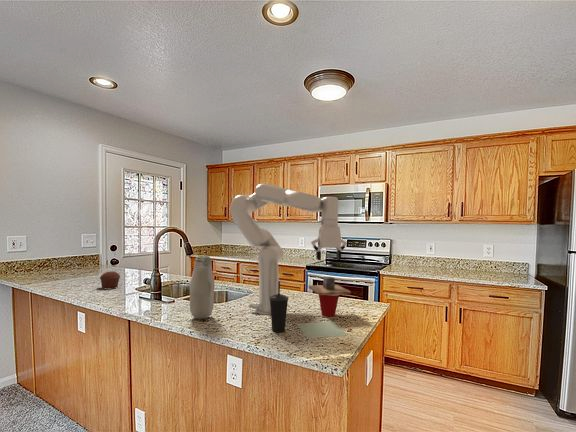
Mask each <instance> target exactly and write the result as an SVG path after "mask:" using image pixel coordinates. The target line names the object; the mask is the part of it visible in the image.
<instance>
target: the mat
mask: <svg viewBox="0 0 576 432" xmlns="http://www.w3.org/2000/svg"><path fill="white" fill-rule="evenodd" d="M296 325H297V326H298V328H299V329H300V330H301V332H302V333H303V334H304V335H305V336H306V338H307V339H317V338H330V337H340V336H341V337H342V336H343V337H344V336H349V334H348V333H347V332H345V331H344V329H342V328H341V327H340V326H339V325H337V324H336V323H335V322H333V321H331V320H330V321H319V322H318V321H317V322H307V323H306V322H305V323H296Z"/></svg>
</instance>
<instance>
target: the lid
mask: <svg viewBox="0 0 576 432" xmlns="http://www.w3.org/2000/svg"><path fill="white" fill-rule="evenodd" d="M335 279H336V278H335V277H334V276H333V277H332V276H323V280H322V281H323V283H322V284H316V285H308V288H309V289H310V290H311V291H312V292H314V293H315V294H317V295H318V296H319V295H334V294H340V295H351V294H352V291H350V290H349V289H348V288H345V287H342V286H341V285H339V284H336V280H335Z"/></svg>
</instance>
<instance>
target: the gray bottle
mask: <svg viewBox="0 0 576 432" xmlns="http://www.w3.org/2000/svg"><path fill="white" fill-rule="evenodd" d="M212 261H213V260H212V258H211V256H209V255H205V254H201V255H198V256H196V258H195V259H194V263H193V264H194V266H193V271H192V275H191V278H190V282H189V312H190V314H191V316H192V317H193V318H195V319H197V320H203V319H207V318H209V317H210V316H211V315H212V313H213V310H214V304H215V303H214V301H215V279H214V278H215V277H214V273H213V267H212V265H213V263H212Z"/></svg>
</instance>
